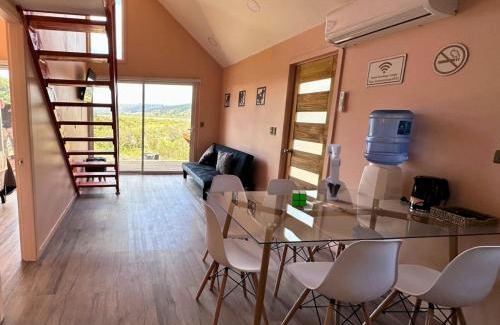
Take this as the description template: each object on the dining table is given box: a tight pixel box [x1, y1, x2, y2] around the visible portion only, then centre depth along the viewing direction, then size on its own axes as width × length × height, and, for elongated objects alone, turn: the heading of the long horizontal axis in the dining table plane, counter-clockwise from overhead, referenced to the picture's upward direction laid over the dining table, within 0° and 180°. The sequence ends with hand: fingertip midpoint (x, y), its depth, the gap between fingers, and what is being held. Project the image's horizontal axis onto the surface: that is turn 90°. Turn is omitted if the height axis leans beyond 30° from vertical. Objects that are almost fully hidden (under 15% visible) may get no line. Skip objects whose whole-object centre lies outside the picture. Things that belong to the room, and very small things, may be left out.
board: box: [309, 200, 348, 212], centre depth 216 cm, size 10×25×1 cm, turn 43°
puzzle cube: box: [291, 189, 307, 208], centre depth 218 cm, size 10×10×10 cm
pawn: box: [330, 186, 337, 198], centre depth 212 cm, size 4×4×8 cm
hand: (333, 194), depth 212 cm, fingers closed on pawn, 3 cm apart
